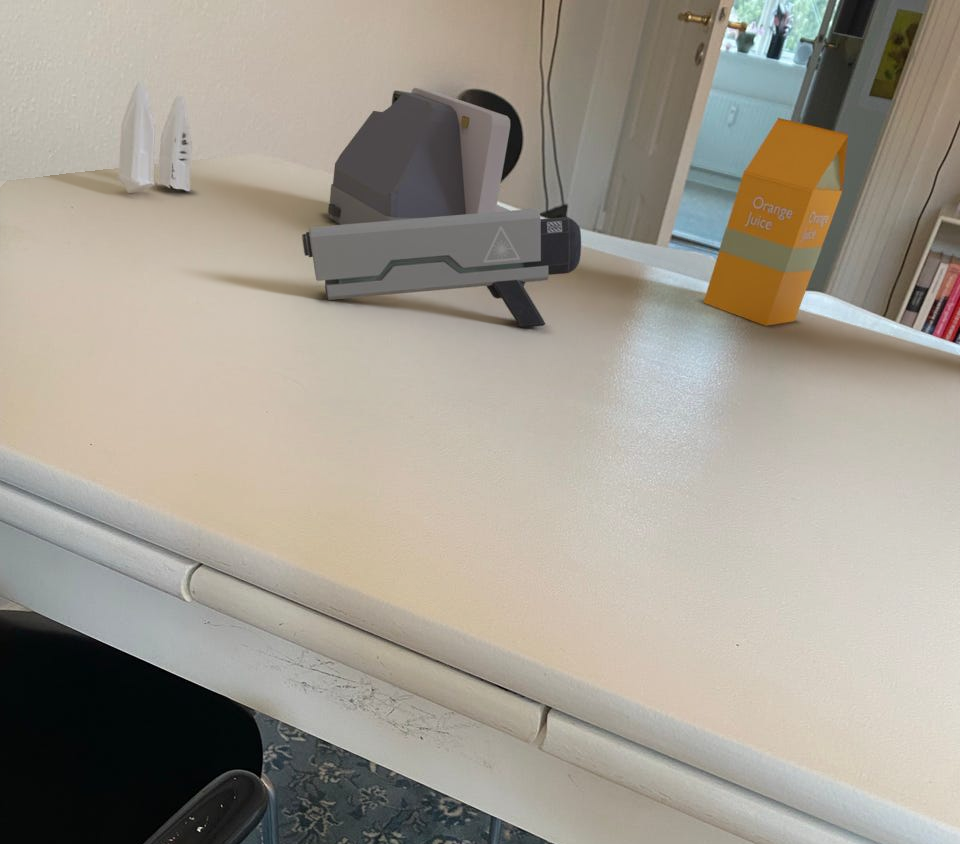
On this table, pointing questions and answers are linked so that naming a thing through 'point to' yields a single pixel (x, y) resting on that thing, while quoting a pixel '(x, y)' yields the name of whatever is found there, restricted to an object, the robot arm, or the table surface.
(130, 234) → the table surface
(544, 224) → the gun
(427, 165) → the instant camera
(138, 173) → the shaker set
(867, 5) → the torch
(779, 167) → the orange juice
